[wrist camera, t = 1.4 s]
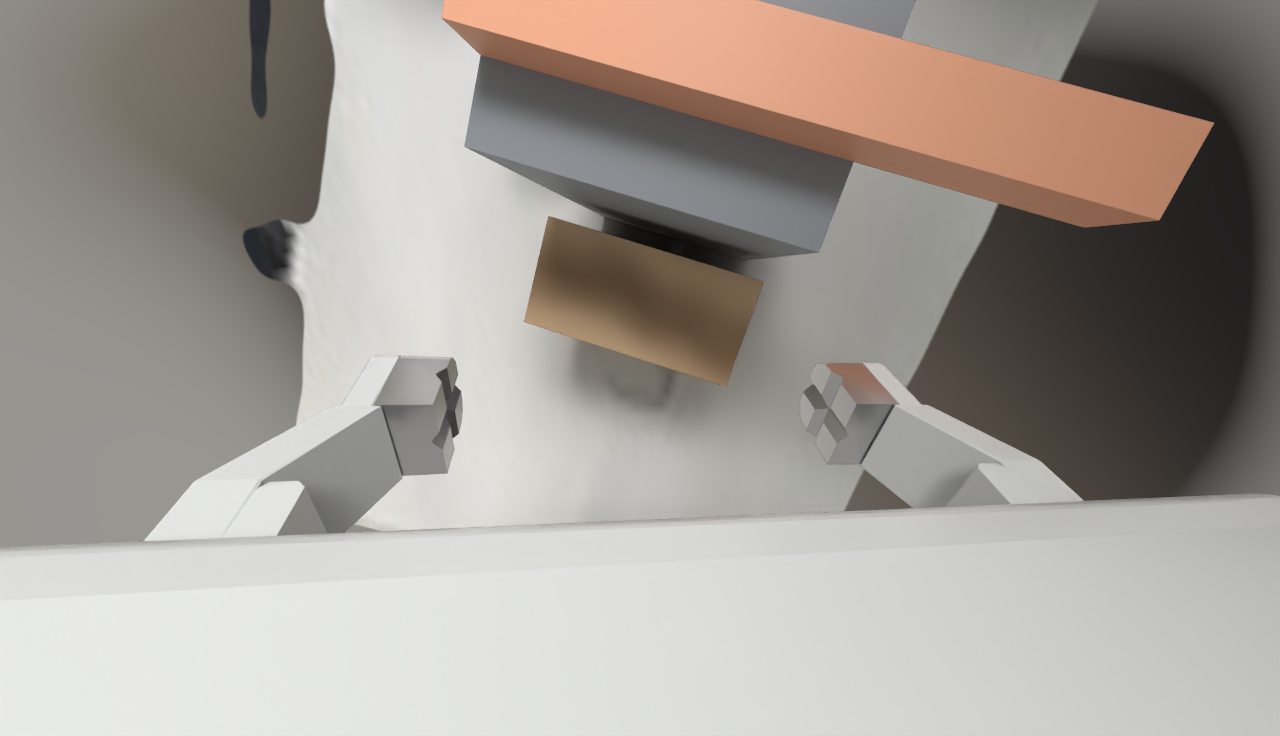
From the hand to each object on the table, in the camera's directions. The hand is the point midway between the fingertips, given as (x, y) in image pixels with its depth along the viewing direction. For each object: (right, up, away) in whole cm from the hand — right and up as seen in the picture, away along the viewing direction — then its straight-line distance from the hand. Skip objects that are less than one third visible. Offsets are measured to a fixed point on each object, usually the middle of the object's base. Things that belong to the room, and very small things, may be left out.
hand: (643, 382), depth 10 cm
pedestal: (+4, +17, +31) cm, 35 cm away
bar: (+5, +10, +5) cm, 12 cm away
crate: (+2, +8, +33) cm, 34 cm away
